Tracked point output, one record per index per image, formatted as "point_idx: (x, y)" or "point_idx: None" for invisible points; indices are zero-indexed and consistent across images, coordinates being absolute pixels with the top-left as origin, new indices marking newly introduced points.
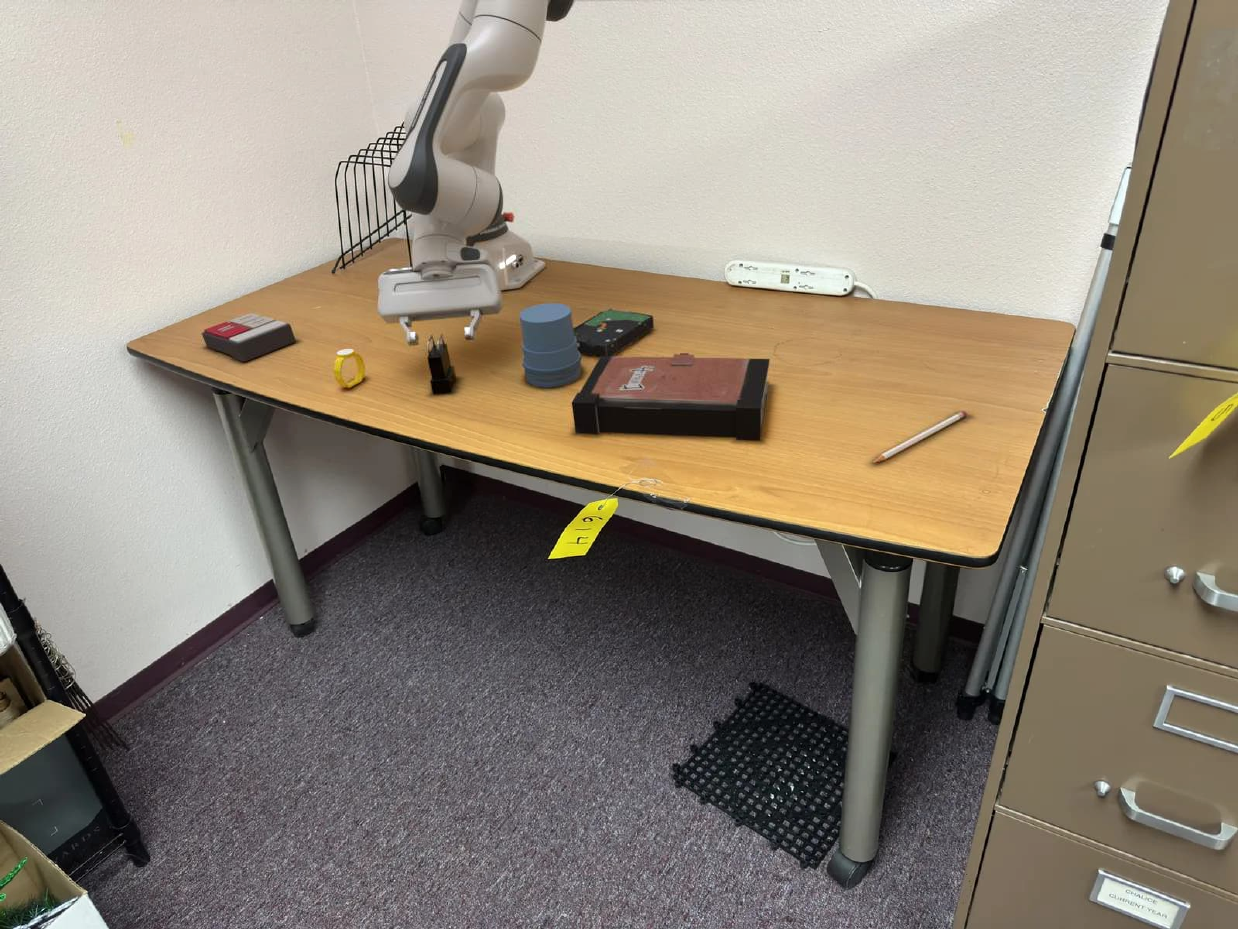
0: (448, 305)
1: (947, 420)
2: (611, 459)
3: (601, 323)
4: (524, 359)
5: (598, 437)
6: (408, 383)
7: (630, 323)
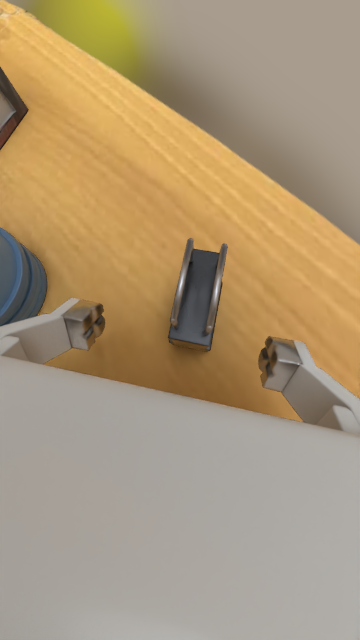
0: (80, 391)
1: None
2: (10, 53)
3: None
4: (9, 268)
5: None
6: None
7: None
